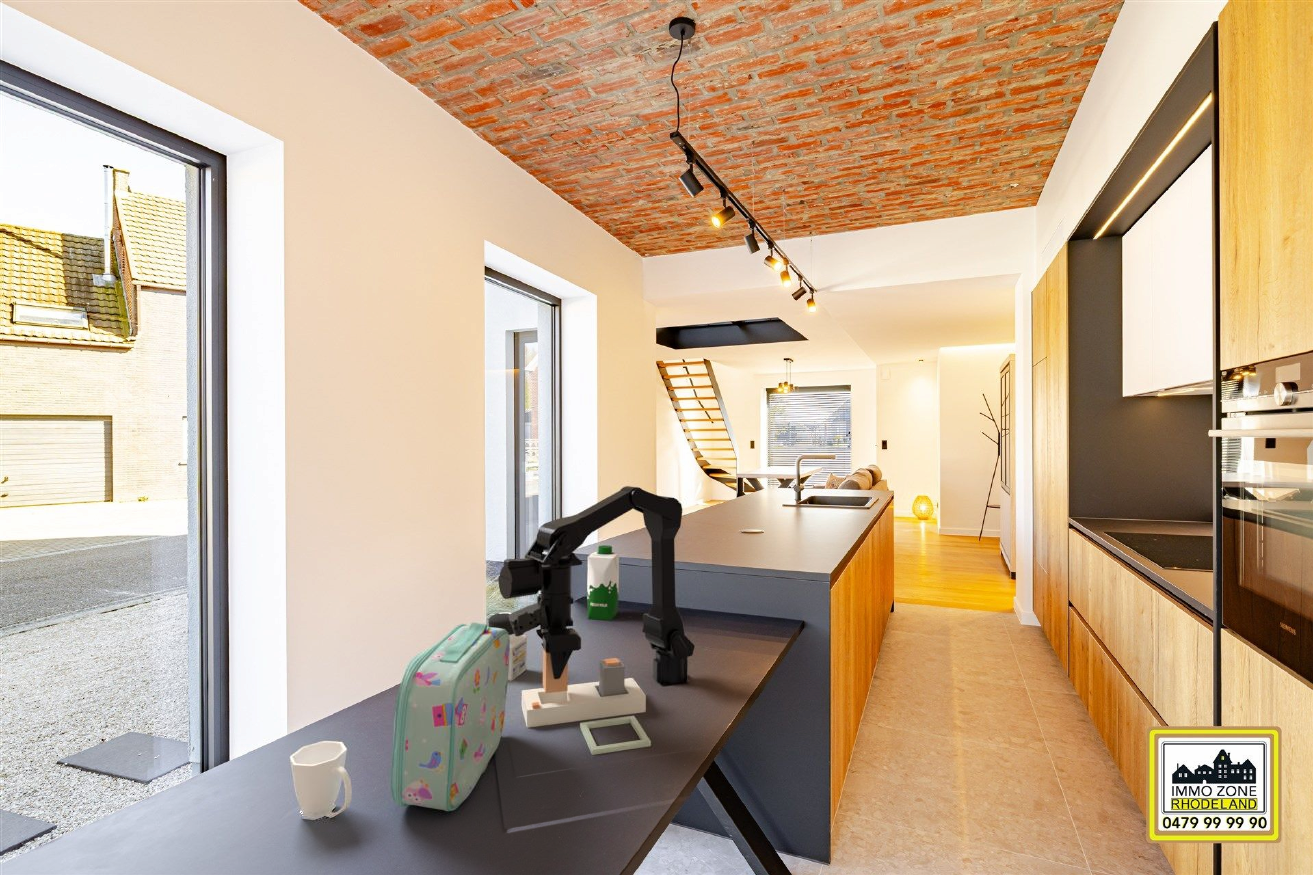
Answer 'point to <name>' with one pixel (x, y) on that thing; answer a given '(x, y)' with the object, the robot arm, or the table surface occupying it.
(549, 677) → the plug
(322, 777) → the cup
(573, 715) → the outlet strip
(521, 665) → the container
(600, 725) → the tray
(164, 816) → the table surface
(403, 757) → the lunch box
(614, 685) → the twin plug
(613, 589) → the milk carton
